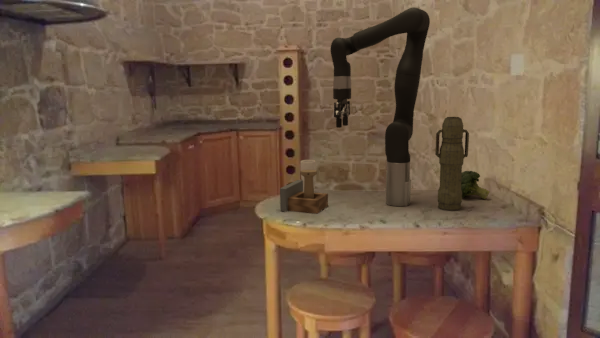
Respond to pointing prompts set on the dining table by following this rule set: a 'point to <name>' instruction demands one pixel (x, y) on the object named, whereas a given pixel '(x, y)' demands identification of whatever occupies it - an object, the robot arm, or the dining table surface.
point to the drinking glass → (308, 166)
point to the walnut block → (307, 203)
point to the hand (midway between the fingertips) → (342, 126)
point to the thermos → (451, 163)
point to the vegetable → (472, 185)
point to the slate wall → (289, 193)
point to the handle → (308, 183)
